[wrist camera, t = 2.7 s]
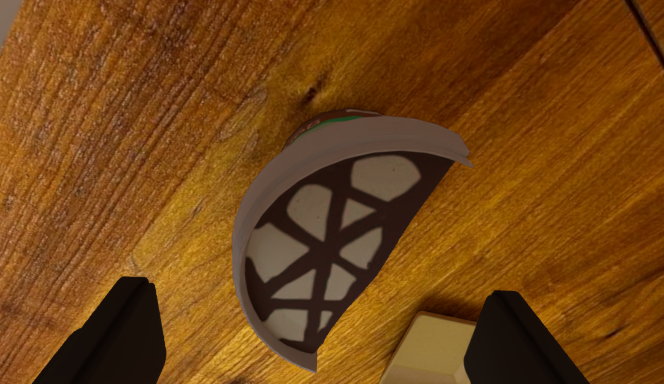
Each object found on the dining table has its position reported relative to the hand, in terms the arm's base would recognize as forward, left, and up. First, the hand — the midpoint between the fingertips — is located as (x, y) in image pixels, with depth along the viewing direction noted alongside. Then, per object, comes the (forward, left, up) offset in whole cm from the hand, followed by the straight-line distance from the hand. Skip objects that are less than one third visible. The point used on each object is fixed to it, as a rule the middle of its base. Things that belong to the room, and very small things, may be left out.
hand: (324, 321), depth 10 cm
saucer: (+12, -16, -13) cm, 24 cm away
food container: (0, 0, -13) cm, 13 cm away
